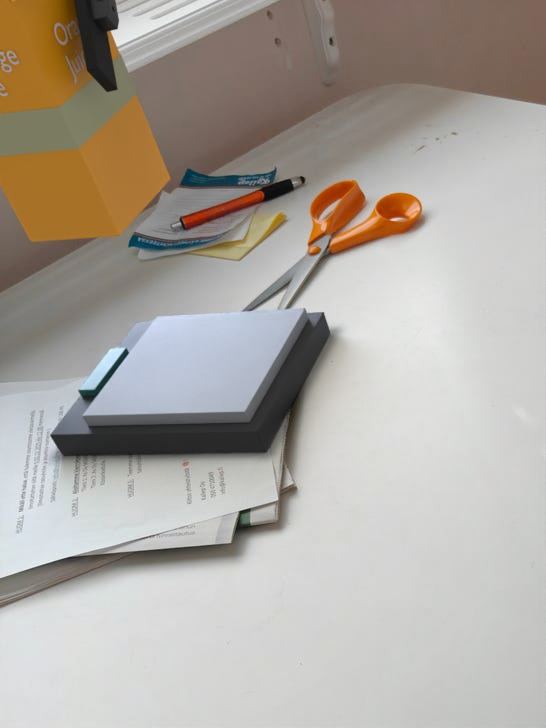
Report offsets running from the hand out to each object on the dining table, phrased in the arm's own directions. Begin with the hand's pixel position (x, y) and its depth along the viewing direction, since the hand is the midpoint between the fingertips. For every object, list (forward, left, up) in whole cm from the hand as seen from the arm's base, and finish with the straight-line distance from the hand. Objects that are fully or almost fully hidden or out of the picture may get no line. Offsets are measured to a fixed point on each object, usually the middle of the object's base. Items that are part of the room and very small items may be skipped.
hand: (28, 97), depth 62 cm
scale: (+2, 0, -23) cm, 23 cm away
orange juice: (-1, +3, -9) cm, 10 cm away
